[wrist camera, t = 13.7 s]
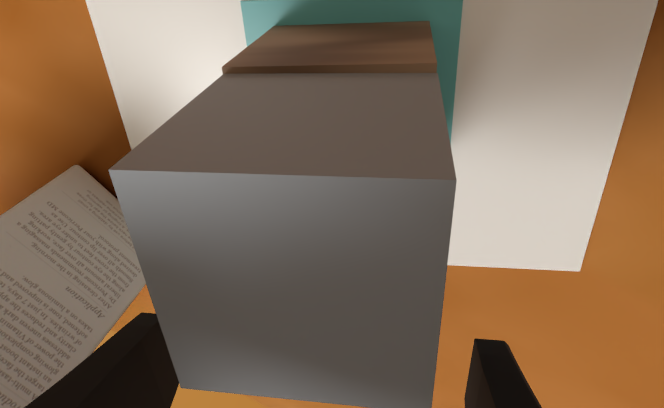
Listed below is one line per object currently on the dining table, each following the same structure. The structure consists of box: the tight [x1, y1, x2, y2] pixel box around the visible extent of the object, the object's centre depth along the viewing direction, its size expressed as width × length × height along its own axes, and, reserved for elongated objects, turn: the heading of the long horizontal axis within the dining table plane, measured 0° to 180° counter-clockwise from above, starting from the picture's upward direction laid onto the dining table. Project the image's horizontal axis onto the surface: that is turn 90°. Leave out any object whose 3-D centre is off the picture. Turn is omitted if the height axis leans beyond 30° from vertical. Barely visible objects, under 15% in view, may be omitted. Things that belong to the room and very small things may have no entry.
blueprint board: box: [86, 0, 658, 271], centre depth 16 cm, size 18×14×1 cm
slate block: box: [108, 73, 457, 408], centre depth 10 cm, size 5×5×5 cm
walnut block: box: [222, 21, 437, 74], centre depth 14 cm, size 5×5×5 cm
